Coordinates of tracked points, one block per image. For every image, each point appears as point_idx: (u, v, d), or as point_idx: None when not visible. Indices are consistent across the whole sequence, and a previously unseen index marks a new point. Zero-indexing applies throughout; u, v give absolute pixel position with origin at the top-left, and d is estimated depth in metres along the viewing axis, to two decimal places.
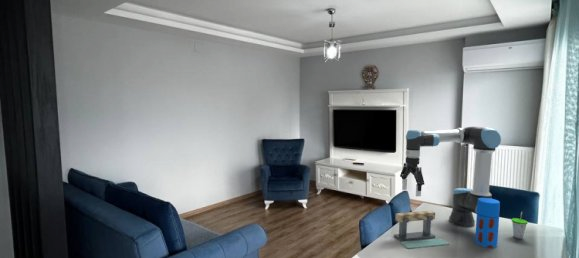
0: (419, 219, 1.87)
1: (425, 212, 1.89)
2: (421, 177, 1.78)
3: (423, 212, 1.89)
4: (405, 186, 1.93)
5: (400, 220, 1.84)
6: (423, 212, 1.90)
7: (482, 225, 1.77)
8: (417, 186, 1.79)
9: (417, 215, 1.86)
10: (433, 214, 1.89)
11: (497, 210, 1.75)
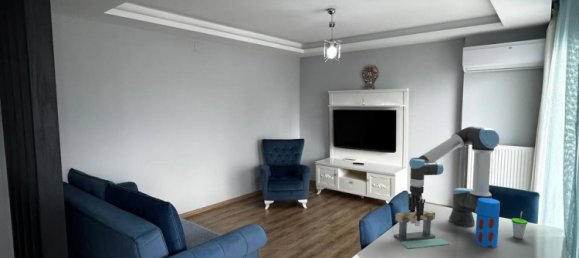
0: None
1: (425, 212, 1.89)
2: (422, 209, 1.82)
3: None
4: None
5: (400, 220, 1.84)
6: None
7: (482, 225, 1.77)
8: (416, 216, 1.85)
9: None
10: (433, 214, 1.89)
11: (497, 210, 1.75)
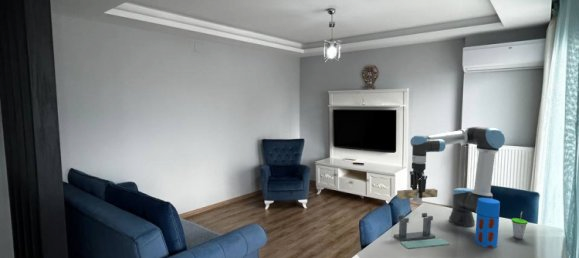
0: None
1: (427, 189, 1.87)
2: (424, 185, 1.80)
3: (425, 189, 1.87)
4: None
5: (402, 197, 1.82)
6: (425, 189, 1.88)
7: (482, 225, 1.77)
8: (418, 193, 1.83)
9: None
10: (435, 191, 1.87)
11: (497, 210, 1.75)
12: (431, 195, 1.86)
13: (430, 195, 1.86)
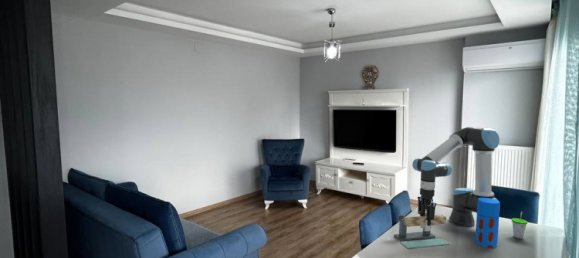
0: None
1: (435, 216, 1.80)
2: (433, 213, 1.73)
3: None
4: None
5: (409, 224, 1.75)
6: (434, 216, 1.80)
7: (482, 225, 1.77)
8: (426, 221, 1.76)
9: None
10: (444, 218, 1.79)
11: (497, 210, 1.75)
12: (440, 222, 1.79)
13: (439, 222, 1.79)
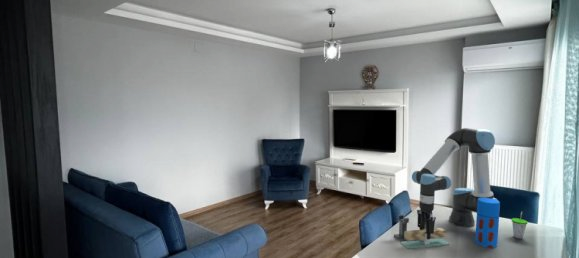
0: None
1: (435, 230, 1.80)
2: (432, 227, 1.74)
3: None
4: None
5: (409, 238, 1.75)
6: None
7: (482, 225, 1.77)
8: (426, 234, 1.77)
9: None
10: (443, 232, 1.80)
11: (497, 210, 1.75)
12: (439, 235, 1.80)
13: (438, 235, 1.79)
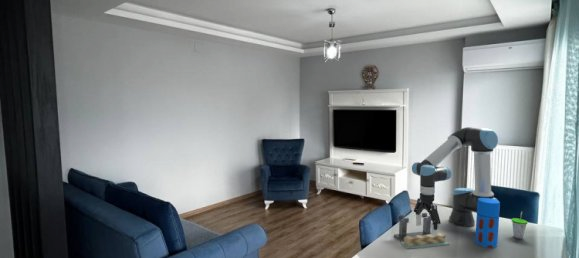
0: (429, 243, 1.78)
1: (435, 235, 1.81)
2: (437, 216, 1.70)
3: (433, 235, 1.81)
4: (419, 222, 1.86)
5: (409, 244, 1.76)
6: None
7: (482, 225, 1.77)
8: (433, 225, 1.72)
9: (426, 238, 1.78)
10: (443, 237, 1.80)
11: (497, 210, 1.75)
12: (439, 241, 1.80)
13: (438, 241, 1.80)
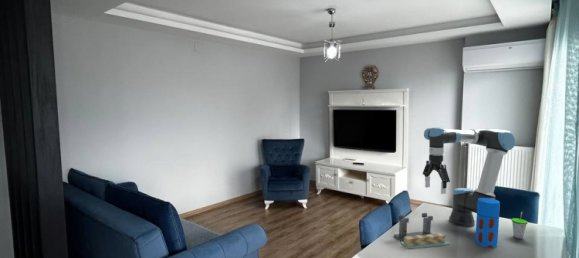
0: (429, 243, 1.78)
1: (435, 235, 1.81)
2: (446, 174, 1.77)
3: (433, 235, 1.81)
4: (428, 183, 1.92)
5: (409, 244, 1.76)
6: (433, 234, 1.81)
7: (482, 225, 1.77)
8: (442, 183, 1.78)
9: (426, 238, 1.78)
10: (443, 237, 1.80)
11: (497, 210, 1.75)
12: (439, 241, 1.80)
13: (438, 241, 1.80)
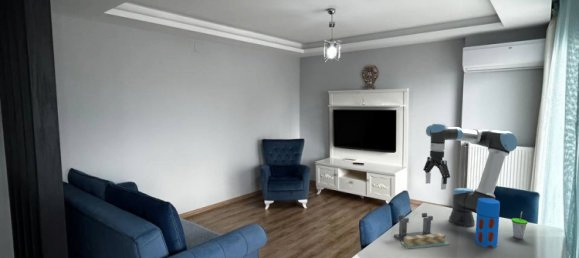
0: (429, 243, 1.78)
1: (435, 235, 1.81)
2: (447, 170, 1.78)
3: (433, 235, 1.81)
4: (429, 180, 1.93)
5: (409, 244, 1.76)
6: (433, 234, 1.81)
7: (482, 225, 1.77)
8: (442, 179, 1.79)
9: (426, 238, 1.78)
10: (443, 237, 1.80)
11: (497, 210, 1.75)
12: (439, 241, 1.80)
13: (438, 241, 1.80)
